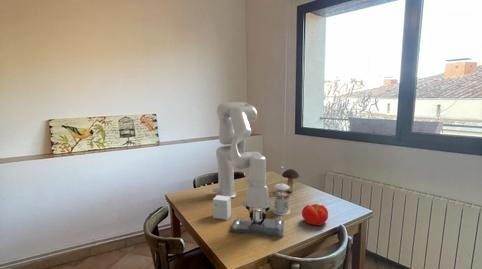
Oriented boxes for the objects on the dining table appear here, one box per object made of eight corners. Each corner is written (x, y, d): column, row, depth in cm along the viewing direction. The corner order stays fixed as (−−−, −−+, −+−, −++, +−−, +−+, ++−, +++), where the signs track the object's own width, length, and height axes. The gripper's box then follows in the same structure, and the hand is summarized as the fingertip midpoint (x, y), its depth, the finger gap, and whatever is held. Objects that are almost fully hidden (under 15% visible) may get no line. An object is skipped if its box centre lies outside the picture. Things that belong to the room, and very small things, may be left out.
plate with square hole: (230, 232, 125) (230, 221, 124) (235, 223, 133) (234, 212, 132) (283, 237, 120) (283, 226, 119) (283, 227, 129) (284, 216, 128)
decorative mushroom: (301, 190, 175) (301, 168, 172) (295, 196, 166) (296, 172, 163) (285, 187, 181) (285, 165, 178) (278, 192, 171) (279, 170, 169)
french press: (270, 213, 143) (270, 168, 139) (275, 204, 154) (275, 162, 150) (288, 216, 140) (289, 169, 136) (292, 207, 151) (293, 163, 146)
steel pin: (254, 231, 126) (254, 211, 124) (255, 228, 128) (255, 208, 127) (260, 231, 125) (260, 211, 123) (261, 228, 128) (261, 208, 126)
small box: (231, 215, 142) (231, 196, 140) (227, 220, 136) (227, 200, 135) (217, 213, 144) (216, 194, 142) (213, 218, 139) (212, 198, 137)
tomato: (306, 229, 126) (306, 212, 125) (299, 217, 139) (299, 201, 137) (332, 228, 127) (333, 211, 126) (323, 216, 139) (324, 200, 138)
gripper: (237, 184, 121) (238, 222, 124) (275, 186, 117) (275, 225, 120) (241, 178, 128) (241, 214, 131) (276, 180, 125) (276, 217, 128)
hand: (257, 219), depth 126 cm, fingers open, 4 cm apart
